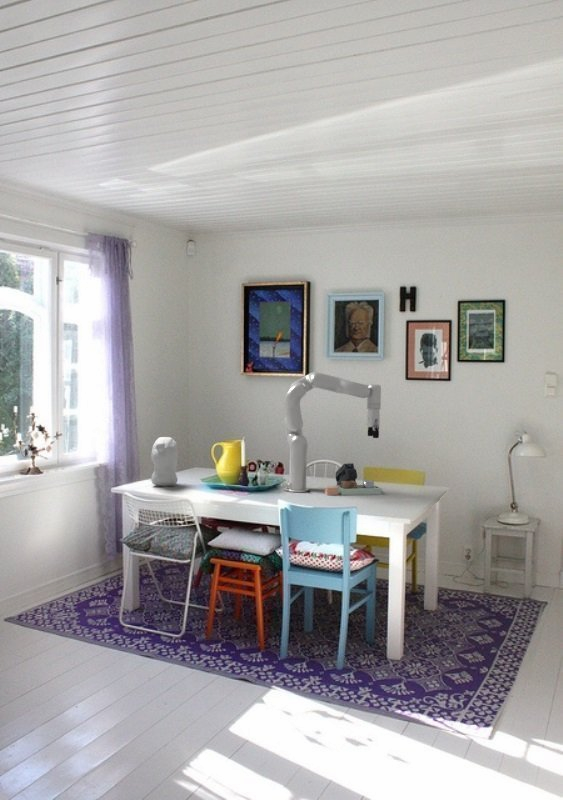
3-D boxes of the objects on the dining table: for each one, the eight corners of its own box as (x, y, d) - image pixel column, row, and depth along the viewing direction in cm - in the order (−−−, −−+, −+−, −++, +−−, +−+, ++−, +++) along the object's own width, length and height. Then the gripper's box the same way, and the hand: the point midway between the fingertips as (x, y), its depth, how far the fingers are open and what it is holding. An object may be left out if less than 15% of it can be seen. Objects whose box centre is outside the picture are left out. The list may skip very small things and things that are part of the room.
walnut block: (344, 494, 401) (344, 483, 400) (340, 491, 408) (341, 480, 407) (356, 493, 402) (357, 482, 402) (353, 491, 409) (353, 480, 408)
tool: (350, 486, 412) (345, 461, 418) (337, 498, 428) (331, 473, 434) (360, 486, 414) (354, 461, 420) (346, 497, 430) (341, 473, 436)
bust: (181, 483, 433) (181, 435, 432) (172, 491, 407) (172, 440, 405) (156, 482, 434) (156, 434, 432) (145, 490, 408) (145, 439, 406)
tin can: (364, 493, 403) (364, 482, 403) (361, 491, 409) (361, 480, 409) (375, 493, 404) (375, 482, 404) (371, 491, 410) (372, 480, 410)
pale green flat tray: (341, 496, 398) (341, 489, 398) (336, 492, 410) (336, 485, 409) (381, 495, 402) (381, 488, 402) (374, 491, 414) (374, 484, 413)
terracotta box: (327, 497, 397) (327, 487, 397) (324, 495, 402) (324, 486, 402) (337, 496, 398) (338, 487, 398) (335, 495, 403) (335, 485, 403)
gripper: (362, 405, 425) (362, 435, 426) (372, 407, 408) (371, 438, 409) (375, 405, 427) (374, 435, 428) (385, 407, 410) (384, 438, 411)
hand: (373, 437), depth 418 cm, fingers open, 9 cm apart
